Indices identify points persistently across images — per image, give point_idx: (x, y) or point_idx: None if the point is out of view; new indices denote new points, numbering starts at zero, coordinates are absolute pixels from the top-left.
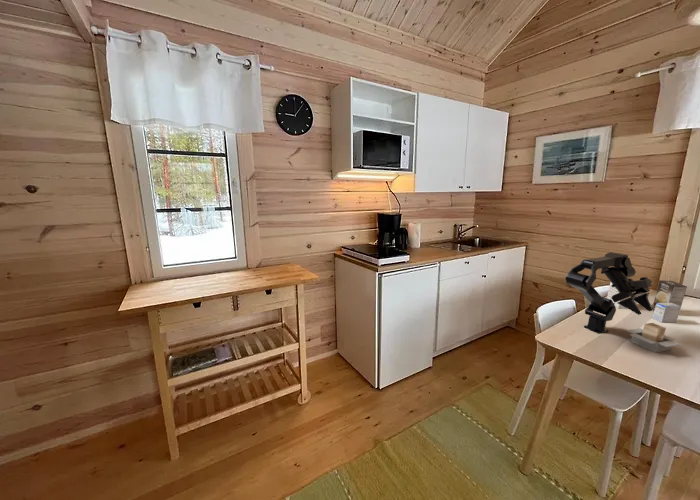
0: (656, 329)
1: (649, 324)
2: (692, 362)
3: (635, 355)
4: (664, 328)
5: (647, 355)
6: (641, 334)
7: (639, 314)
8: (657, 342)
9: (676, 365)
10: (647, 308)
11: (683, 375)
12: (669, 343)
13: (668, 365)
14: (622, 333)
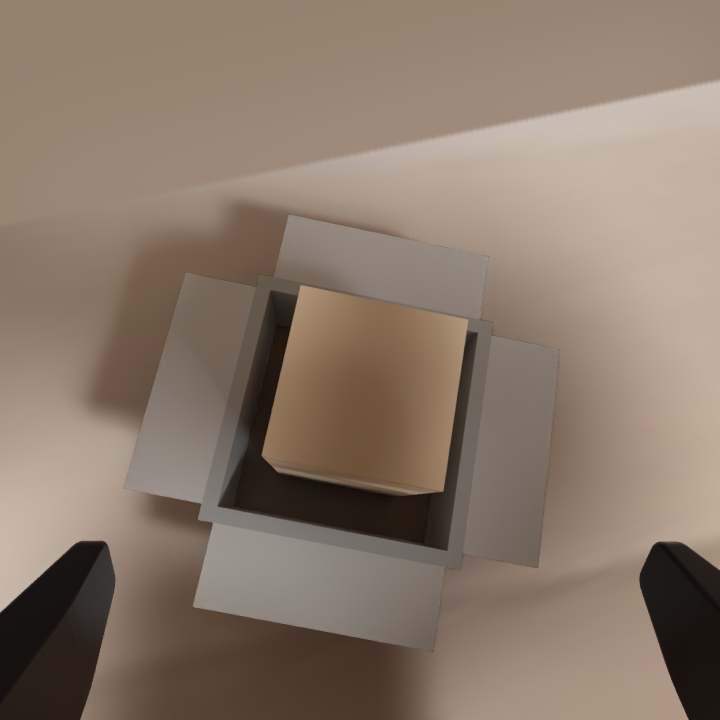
0: (463, 341)
1: (394, 448)
2: (373, 160)
3: (704, 404)
4: (333, 295)
5: (600, 359)
6: (326, 526)
7: (660, 566)
8: (478, 331)
9: (556, 199)
10: (85, 651)
11: (672, 137)
12: (379, 267)
13: (617, 225)
14: (282, 714)
